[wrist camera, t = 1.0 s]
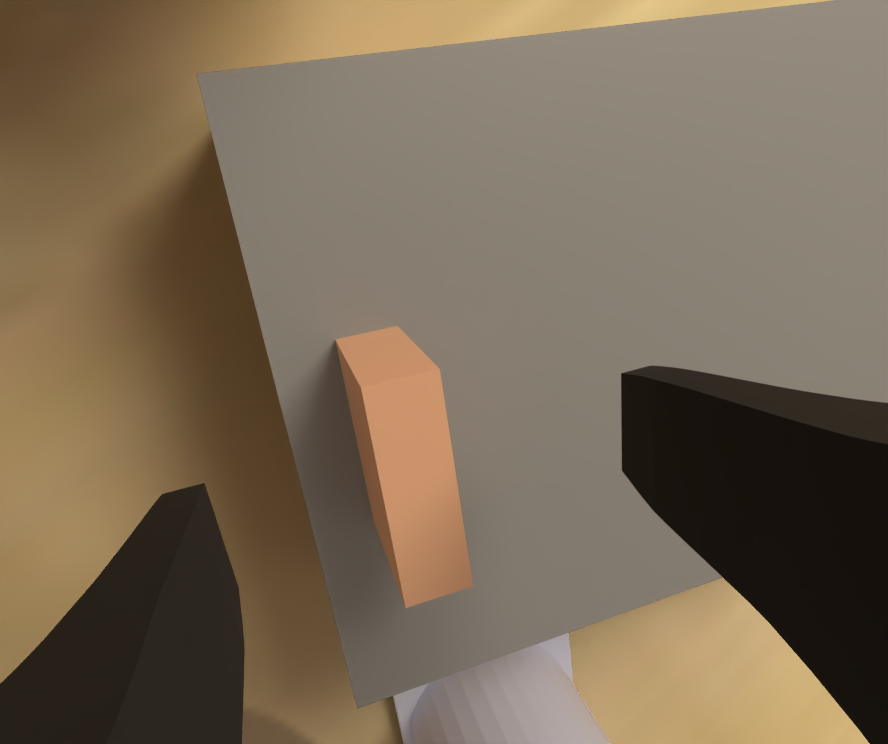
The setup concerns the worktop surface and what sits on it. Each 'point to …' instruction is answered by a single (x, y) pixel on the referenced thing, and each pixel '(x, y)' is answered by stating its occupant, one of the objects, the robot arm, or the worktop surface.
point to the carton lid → (544, 296)
